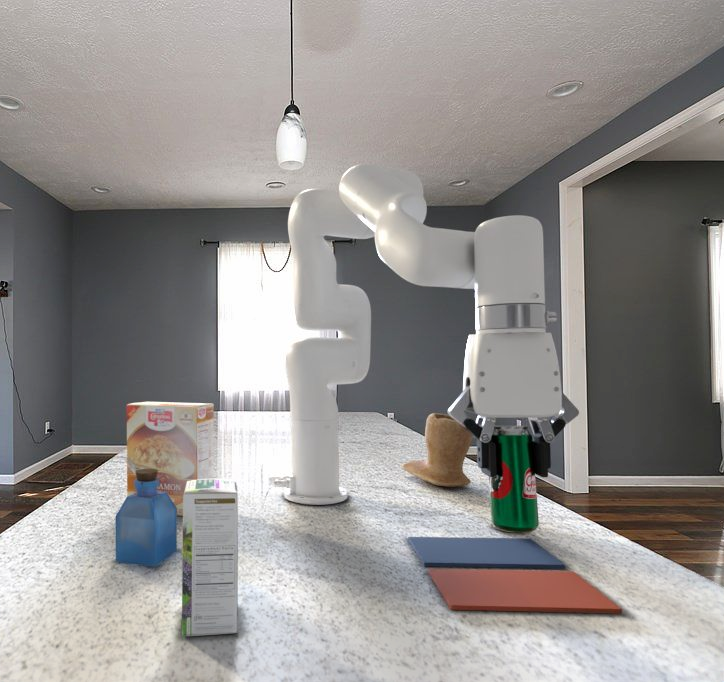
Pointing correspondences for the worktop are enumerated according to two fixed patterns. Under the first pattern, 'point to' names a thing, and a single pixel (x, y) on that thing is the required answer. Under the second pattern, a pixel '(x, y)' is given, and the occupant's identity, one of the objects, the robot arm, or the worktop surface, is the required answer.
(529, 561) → the slate-blue mat
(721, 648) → the worktop surface
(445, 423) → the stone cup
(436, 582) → the terracotta mat
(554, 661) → the worktop surface
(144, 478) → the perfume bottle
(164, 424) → the coffeecake box
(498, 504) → the soda can
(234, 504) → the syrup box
